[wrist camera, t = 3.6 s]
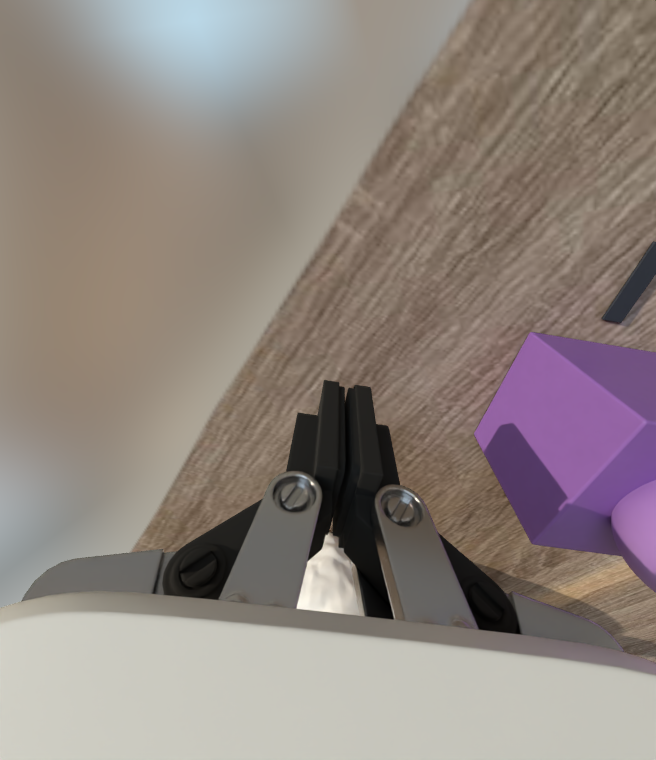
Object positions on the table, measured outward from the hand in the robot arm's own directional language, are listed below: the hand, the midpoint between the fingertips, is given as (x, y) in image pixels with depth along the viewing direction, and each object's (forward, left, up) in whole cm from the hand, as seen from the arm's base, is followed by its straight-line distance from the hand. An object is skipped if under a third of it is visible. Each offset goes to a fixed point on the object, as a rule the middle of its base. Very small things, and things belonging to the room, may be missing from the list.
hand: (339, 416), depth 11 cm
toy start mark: (-6, +11, -4) cm, 13 cm away
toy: (0, +11, -4) cm, 11 cm away
